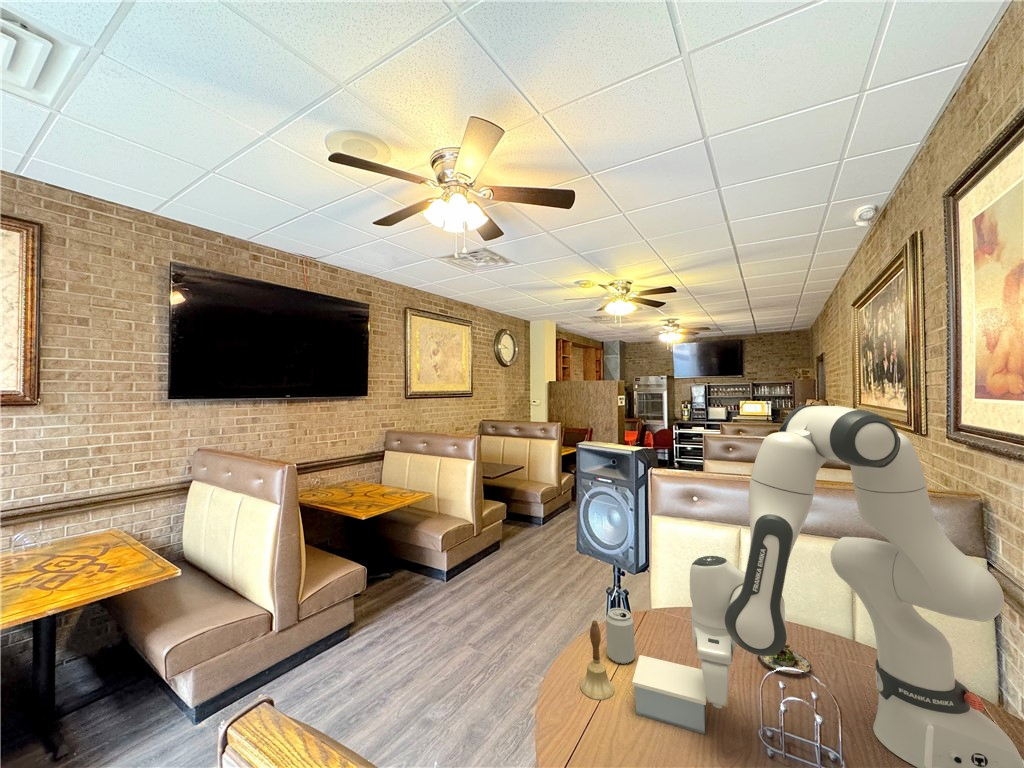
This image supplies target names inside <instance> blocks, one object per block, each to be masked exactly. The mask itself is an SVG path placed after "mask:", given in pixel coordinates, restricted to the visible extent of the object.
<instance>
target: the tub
mask: <svg viewBox="0 0 1024 768" xmlns="http://www.w3.org/2000/svg"><path fill="white" fill-rule="evenodd" d="M634 698H635V700H634V701H635V715H637V716H640V717H644V718H647V719H650V720H654V721H658V722H660V723H664V724H667V725H670V726H674V727H678V728H681V729H684V730H688V731H691V732H695V733H698V734H702V735H706V705H703V704H699V703H695V702H692V701H688V700H684V699H681V698H677V697H673V696H669V695H666V694H662V693H658V692H655V691H651V690H647V689H643V688H640V687H636V686H634Z"/></svg>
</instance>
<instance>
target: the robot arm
mask: <svg viewBox="0 0 1024 768" xmlns="http://www.w3.org/2000/svg"><path fill="white" fill-rule="evenodd" d="M828 460H831V461H837V462H841V463H844V464H848V466H849V468H850V472H851V473H850V474H851V480H852V484H853V485H852V486H853V490H854V494H855V498H856V499H855V500H856V504H857V509H858V514H859V516H860V518H861V520H862V521H863V522H864V523H865V524H866V525H867V526H868V527H869V528H870V529H871V530H873V531H875V532H877V534H878V533H879V534H880V535H881V536H883V538H885V539H886V540H888V541H884V540H883V541H882V540H878V539H874V538H871V537H870V538H869V537H859V536H858V537H857V536H856V537H855V536H843V537H841V538H839V539H838V540H836V542H834V544H833V546H832V548H831V551H830V562H831V566H832V567H833V570H834V572H835V573H836V574H837V576H838V577H839V578H840V579H841V580H843V581H844V582H845V583H846V584H847V585H848V586H849V587H850V588H851V589H852V590H853V591H854V593H855V594H856V595H857V597H858V598H859V599H860V601H861V603H862V604H863V606H864V608H865V610H866V611H867V613H868V615H869V618H870V620H871V623H872V626H873V631H874V636H875V645H876V653H877V659H876V660H875V672H874V673H875V683H876V688H877V690H878V701H877V702H878V704H877V710H876V716H875V719H874V722H873V725H872V729H873V733H874V735H875V737H876V738H877V739H878V740H879V742H880V743H881V744H882V745H883V746H884V747H886V749H888V750H889V752H891V753H893V754H894V755H896V756H897V757H899V758H900V759H902V760H904V761H905V762H907V763H908V764H911V765H912V766H914V767H916V768H1024V759H1023V758H1022V757H1021V754H1020V753H1019V751H1018V749H1017V747H1016V745H1015V744H1014V743H1013V741H1012V739H1011V738H1010V737H1009V736H1008V735H1007V733H1005V732H1004V730H1002V728H1000V727H1001V726H998V725H997V724H996V723H995V722H994V721H992V720H991V719H990V718H989V717H987V716H986V715H985V714H983V713H982V712H981V711H983V710H984V709H985V705H984V703H983V701H982V700H981V699H980V698H979V697H978V696H977V695H975V694H974V693H970V690H969V689H968V688H967V687H966V686H965V685H964V684H962V683H961V682H959V681H958V679H956V677H955V670H954V657H953V650H952V646H951V644H950V642H949V640H948V639H947V637H946V636H945V635H944V634H943V632H942V631H940V630H939V629H938V628H937V627H936V626H934V625H933V624H931V623H930V622H929V621H927V620H926V619H925V618H924V617H923V616H922V615H921V614H920V613H919V612H918V611H917V610H916V608H915V607H914V606H916V607H919V608H922V609H926V610H928V611H932V612H934V613H938V614H940V615H944V616H947V617H952V618H957V619H963V620H969V621H974V622H981V623H985V622H989V621H992V620H993V619H995V618H996V617H997V616H998V615H999V614H1000V613H1001V612H1002V610H1003V608H1004V604H1005V596H1004V592H1003V588H1002V586H1001V584H1000V583H999V581H998V580H997V578H995V576H994V575H993V574H992V573H991V572H990V571H989V570H988V569H987V568H985V567H984V566H982V565H980V564H978V563H977V562H976V561H974V560H972V559H971V558H969V557H968V556H967V555H966V554H965V553H963V552H962V551H961V550H960V549H958V547H956V545H954V543H953V542H952V541H951V540H950V539H949V538H948V536H947V535H946V534H945V533H944V532H943V530H942V528H941V527H940V526H939V523H938V522H937V520H936V517H935V514H934V510H933V507H932V504H931V503H932V502H931V500H930V496H929V491H928V486H927V481H926V477H925V474H924V470H923V466H922V464H921V461H920V458H919V456H918V454H917V452H916V449H915V447H914V445H913V443H912V441H911V440H910V439H909V437H907V436H906V435H905V434H903V433H901V432H899V431H897V429H896V427H894V425H893V424H892V422H891V421H889V420H888V419H887V418H885V417H883V416H882V415H880V414H877V413H875V412H872V411H869V410H864V409H856V408H853V407H847V406H842V405H841V406H840V405H820V404H807V405H801V406H798V407H796V408H794V409H792V410H791V411H790V412H789V413H788V414H787V415H786V417H785V418H784V421H783V423H782V425H781V426H780V427H779V430H778V432H773V433H770V434H769V435H767V436H766V437H764V439H763V440H762V443H761V444H760V446H759V450H758V452H757V453H756V456H755V461H754V464H753V468H752V469H751V470H752V471H751V475H750V481H749V487H748V517H749V519H748V520H749V529H750V532H749V533H750V546H749V554H748V559H747V565H746V568H745V571H743V570H741V569H739V568H738V567H737V566H735V565H733V564H732V563H731V562H729V560H728V559H727V558H724V557H723V556H718V555H705V556H702V557H699V558H696V559H695V560H694V561H693V562H692V564H691V565H690V570H689V597H690V600H691V605H692V607H691V612H690V616H691V618H690V619H691V634H692V635H691V638H692V639H693V641H694V644H695V647H696V655H697V658H698V659H700V660H699V661H700V667H701V668H700V669H702V675H703V681H704V688H705V694H706V697H707V700H708V701H709V702H711V703H710V704H712V703H713V704H712V706H713V707H714V708H716V709H717V708H718V709H722V708H723V706H725V705H726V704H727V699H728V700H729V698H728V697H729V680H730V666H732V665H733V655H734V652H735V650H736V648H737V645H738V646H739V647H740V648H741V649H743V650H745V651H747V652H748V653H751V654H753V655H755V656H758V655H760V656H772V655H775V654H778V653H779V652H780V651H782V650H783V648H784V647H785V644H786V642H787V638H788V637H787V636H788V635H787V630H786V629H787V628H786V621H785V620H786V613H785V611H786V609H785V605H786V604H785V599H784V597H783V591H784V586H785V580H786V574H787V568H788V564H789V559H790V556H791V553H792V551H793V549H794V546H795V544H796V542H797V540H798V537H799V535H800V533H801V531H802V529H803V527H804V525H805V522H806V521H807V518H808V516H809V513H810V510H811V507H812V504H813V500H814V495H815V490H816V484H817V483H816V482H817V474H818V472H819V470H820V469H821V467H822V466H823V465H824V464H825V463H826V462H827V461H828ZM722 705H723V706H722Z"/></svg>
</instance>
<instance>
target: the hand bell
mask: <svg viewBox="0 0 1024 768" xmlns="http://www.w3.org/2000/svg"><path fill="white" fill-rule="evenodd" d="M589 639H590V643H591V645H592V660H590V661H589V662H588V663H587V669H586V675H585V677H583V678H582V680H581V681H580V684H579V687H580V690H581V693H582V694H583V695H584V696H586V697H588V698H590V699H592V700H596V701H605V700H608V699H611V698H612V697H613V695H614V694H615V686H614V685H613V683H612V681H611V680H610V679H609V678H608V672H607V667H606V664H605V663H603V662H602V661H601V658H600V655H601V654H600V645H601V640H602V639H601V629H600V626H599V623H598V621H597V620H592V621H591V626H590V630H589Z"/></svg>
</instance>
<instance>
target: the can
mask: <svg viewBox="0 0 1024 768" xmlns="http://www.w3.org/2000/svg"><path fill="white" fill-rule="evenodd" d="M634 620H635V619H634V618H633V616H632V614H631V612H630V611H629V610H628V609H625V608H621V607H614V608H610V609H609V610H608V611H607V614H606V616H605V634H606V637H605V638H606V653H607V654H606V655H607V657H609V659H611V661H613V662H614V661H615V662H614V663H616V664H620V663H621V665H627V664H630V663H631V662H632V661H634V659H635V658H636V657H635V656H636V652H635V651H636V650H635V649H636V647H635V646H636V645H635V623H634ZM629 662H630V663H629ZM626 663H627V664H626Z"/></svg>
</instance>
